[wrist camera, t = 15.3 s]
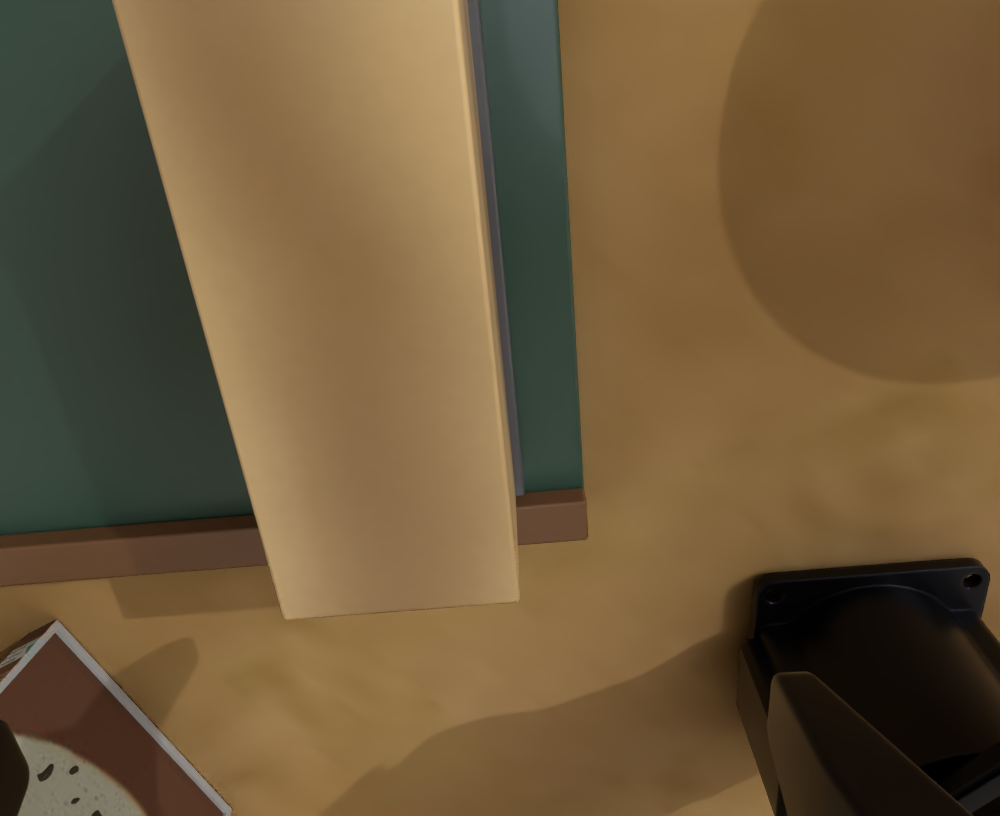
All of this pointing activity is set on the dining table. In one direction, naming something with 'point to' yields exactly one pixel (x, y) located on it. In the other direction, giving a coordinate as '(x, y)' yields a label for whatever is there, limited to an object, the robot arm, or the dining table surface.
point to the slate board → (175, 319)
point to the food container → (91, 739)
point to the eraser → (347, 284)
